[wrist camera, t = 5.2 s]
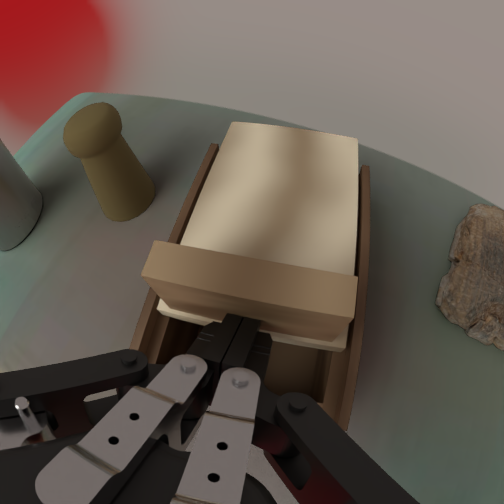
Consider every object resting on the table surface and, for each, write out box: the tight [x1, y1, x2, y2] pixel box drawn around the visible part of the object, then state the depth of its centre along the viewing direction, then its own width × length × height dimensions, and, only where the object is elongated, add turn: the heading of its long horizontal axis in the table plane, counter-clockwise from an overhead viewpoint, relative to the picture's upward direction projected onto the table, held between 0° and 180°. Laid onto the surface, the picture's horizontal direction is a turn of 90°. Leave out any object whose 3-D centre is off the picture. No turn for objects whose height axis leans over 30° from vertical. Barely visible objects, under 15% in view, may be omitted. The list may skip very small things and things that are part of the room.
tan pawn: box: [63, 102, 155, 222], centre depth 24 cm, size 6×6×11 cm
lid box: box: [129, 143, 370, 431], centre depth 19 cm, size 11×16×8 cm
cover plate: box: [141, 121, 358, 352], centre depth 16 cm, size 9×15×5 cm, turn 167°
